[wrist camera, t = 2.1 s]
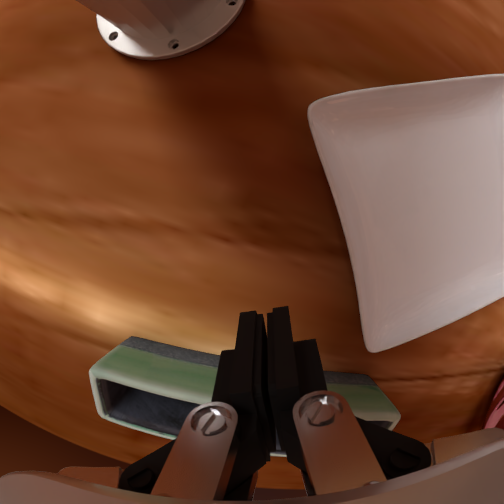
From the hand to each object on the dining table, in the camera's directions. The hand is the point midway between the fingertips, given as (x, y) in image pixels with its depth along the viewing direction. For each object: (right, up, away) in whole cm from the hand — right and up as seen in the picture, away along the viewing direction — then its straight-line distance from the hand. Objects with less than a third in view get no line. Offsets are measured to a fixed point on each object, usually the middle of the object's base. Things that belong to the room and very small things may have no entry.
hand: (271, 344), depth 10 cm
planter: (-1, -9, +19) cm, 21 cm away
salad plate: (+16, +8, +12) cm, 22 cm away
